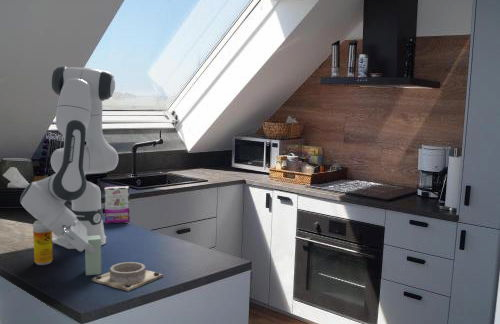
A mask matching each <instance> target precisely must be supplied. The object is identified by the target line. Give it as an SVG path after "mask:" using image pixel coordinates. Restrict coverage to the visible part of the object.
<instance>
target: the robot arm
mask: <svg viewBox="0 0 500 324" xmlns="http://www.w3.org/2000/svg"><path fill="white" fill-rule="evenodd" d="M115 80H116V79H115V76H114V74H112V73H111V72H110V71H106V70H99V69H96V68H90V67H77V66H75V67H70V66H69V67H68V66H58V67H55V69H54V70H53V71H52V75H51V78H50V85H51V88H52V91H53V92H54V93H55V94H56V95H58V96H59V97H58V99H57V103H56V104H57V106H56V113H55V127H56V129H57V131H58V132H59V133H60V134H61V135H62V138H63V147H61V148H57V149H55V150H54V151H53V152H52V154H51V156H50V165H51V169H52V170H53V171H54V173H53V174H52V175H50V176H48V177H45V178H43V179H40V180H36V181H31V182H30V183H28V185H27V186H26V187H25V188H24V190H23V191H22V192H21V195H20V198H19V202H20V204H21V205H22V207H23V208H24V209H25V210H26V211H27V212H28V213H29V214H30V215H31V216H32V217H34V218H35V219H36V220H40V221H42V222H43V223H44V225H45V226H46V227H47V228H48V229H49V230H51V231H52V234H54V235H55V236H54V237H52V244H56V245H58V246H61V247H63V248H65V249H67V250H75V249H76V250H77V251H78V252H84V251H85V250H87V251H89V252H91V253H92V254H95V253H96V251H97V250H96V248H95V247H93V246H92V245H90V243H89V242H88V236H96V235H100V237H101V246H102V245H105V244H106V243H107V235H105V226H104V220H103V219H102V217H103V207H102V195H101V194H102V192H101V189H100V187H99V186H98V185H97V184H95V183H93V182H91V181H88V180H87V179H86V175H88V174H89V175H90V174H104V173H107V172H108V173H109V172H111V171H114V170H115V169H116V167H117V166H118V164H119V154H118V152H117V150H116V149H115V148H114V147H113V146H112V145H111V144H109V142H108V141H107V140H106V138H105V137H104V132H103V102H105V100H109V99H110V98H112V97H113V94H114V93H115V90H116V81H115ZM68 201H69V202H70V201H71V209H69V208H68V207H67V206H66V204H65V203H66V202H68Z"/></svg>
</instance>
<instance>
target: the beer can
mask: <svg viewBox="0 0 500 324" xmlns="http://www.w3.org/2000/svg"><path fill="white" fill-rule="evenodd" d="M32 228H33V229H32V234H33V256H34V263H35V264H36V265H38V266H45V265H49V264H51V263H52V261H53V260H54V256H53V254H54V253H53V242H52V238H53V232H52V231H51V230H49V229H48V228H47V227H46V226H45V225H44V223H43V222H42V221H40V220H38V219H36V220H35V221H33V224H32Z"/></svg>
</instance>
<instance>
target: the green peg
mask: <svg viewBox="0 0 500 324" xmlns="http://www.w3.org/2000/svg"><path fill="white" fill-rule="evenodd" d="M88 242H89V243H90V245H92V246H93V247H95V248H96V250H97V251H96V253H95V254H92V253H91V252H89V251H87V250H85V249H84V259H85V261H84V263H85V264H84V265H85V266H84V267H85V276H92V275H93V276H97V275H103V274H102V245H101V237H100V235H96V236H88Z"/></svg>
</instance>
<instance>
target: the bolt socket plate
mask: <svg viewBox="0 0 500 324" xmlns="http://www.w3.org/2000/svg"><path fill="white" fill-rule="evenodd" d="M146 267H147V266H146V265H145V264H144V263H141V262H137V261H136V262H135V261H131V262H130V261H127V262H119V263H116V264H113V265H112V266H111V267H110V268H109V271H108V272H106V273H103V274H97V275H95V277H92V278H91V282H95V283H98V284H102V285H104V286H109V287H112V288H115V289H119V290H121V291H122V290H123V291H126V292H130V291H132V290H135V289H136V288H140V287H142V286H144V285H147V284H149V283H151V282H154V281H156V280H158V278H159V279H161V278H163V277H164V274H163V273H160V272H157V271H151V270H147V269H146Z"/></svg>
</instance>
